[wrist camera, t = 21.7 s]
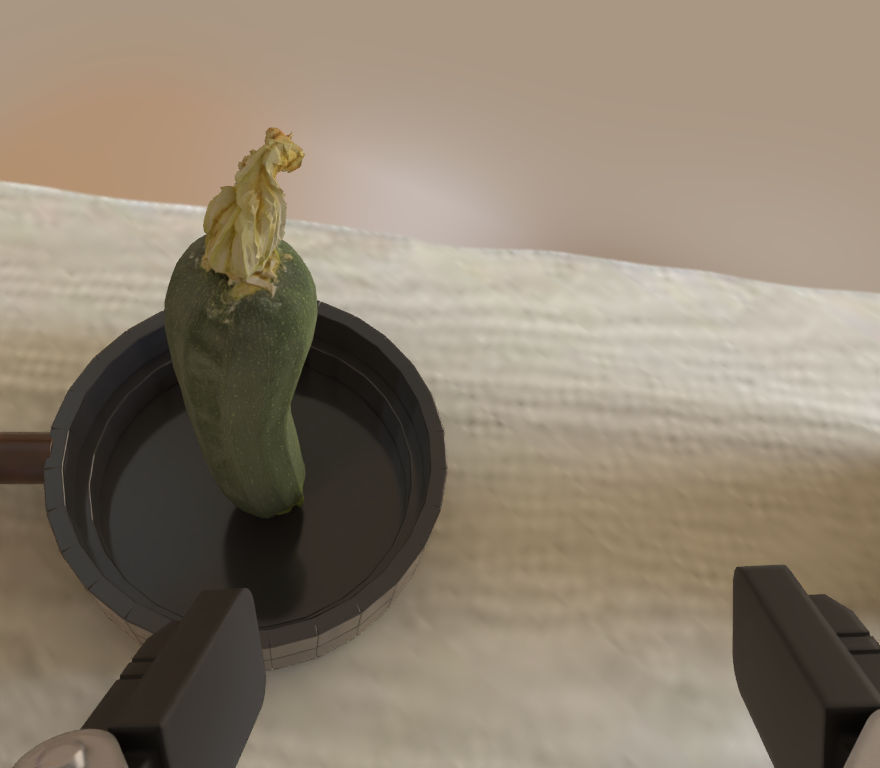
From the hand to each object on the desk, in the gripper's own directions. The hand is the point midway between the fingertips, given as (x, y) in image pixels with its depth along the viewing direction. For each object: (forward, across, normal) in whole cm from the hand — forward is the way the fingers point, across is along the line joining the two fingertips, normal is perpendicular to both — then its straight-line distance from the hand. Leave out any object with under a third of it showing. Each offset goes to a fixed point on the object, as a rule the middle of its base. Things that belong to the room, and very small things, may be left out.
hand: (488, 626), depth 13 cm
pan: (+21, +11, +6) cm, 24 cm away
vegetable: (+20, +11, +6) cm, 23 cm away
